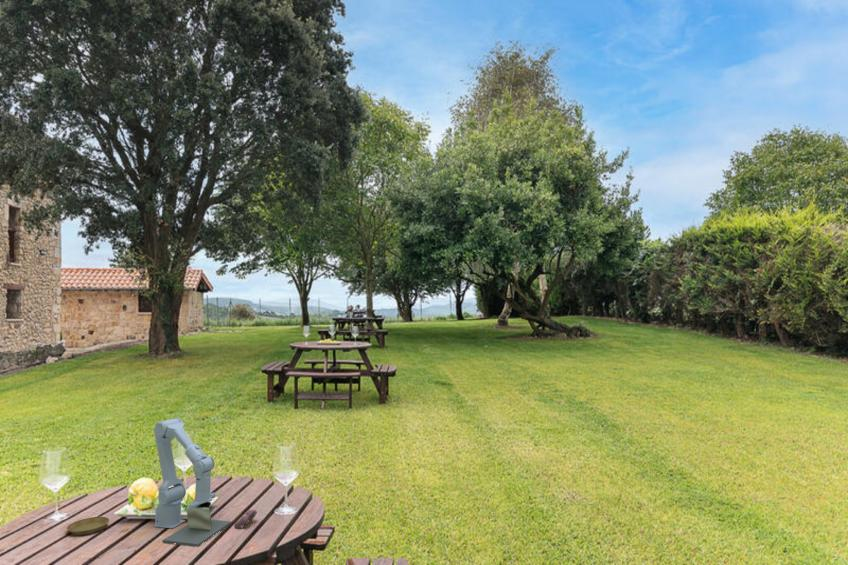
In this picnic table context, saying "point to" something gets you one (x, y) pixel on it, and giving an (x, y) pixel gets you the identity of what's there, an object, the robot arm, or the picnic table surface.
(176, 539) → the board
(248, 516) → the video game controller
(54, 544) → the picnic table surface
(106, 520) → the plant saucer
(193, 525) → the tile
